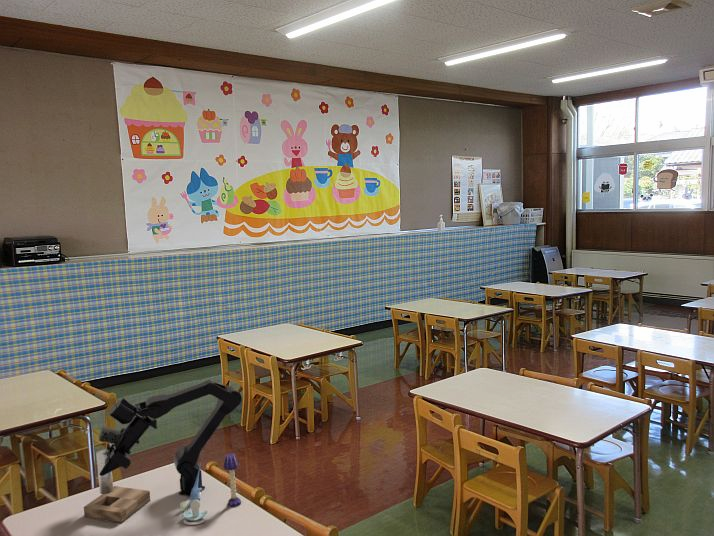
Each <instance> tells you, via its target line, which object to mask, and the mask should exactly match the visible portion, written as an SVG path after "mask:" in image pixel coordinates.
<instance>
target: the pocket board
mask: <svg viewBox="0 0 714 536" xmlns="http://www.w3.org/2000/svg"><path fill="white" fill-rule="evenodd" d="M113 489H114V490H113V491H112V492H111V493H108V494H100V495H99V496H98V497H96V498H95V499H93V500H91V501H90V502H89V503H87V504H86V505H84V506H83V513H84V514H83V515H84V519H85V518H86V519H92V520H98V521H103V522H104V521H105V522H112V523H117V524H123V523H124V522H126V521H128V519H130V518H131V517H132V516H133V515H135V514H136V513H137V512H138V511H140V510H141V509H143V507H144V506H146V505H147V504H148V503H150V502H151V492H150V490H144V489H139V488H130V487H124V486H123V487H122V486H118V485H117V486H116V485H113Z"/></svg>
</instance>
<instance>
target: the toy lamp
mask: <svg viewBox="0 0 714 536" xmlns="http://www.w3.org/2000/svg"><path fill="white" fill-rule="evenodd" d="M238 467H239V462H238V459H237V456H236V454H235V453H232V452H231V453H227V454H226V455H225V457H224V462H223V468H224V470H225V471H226V470H227V471H228V472H229V473H228V476H229V485H230V487H229V488H230V494H231V495H230V497H231V498H229V499H228V501H227V506H228V507H231V508H235V507H238V506H240V505H241V504H242V500H241V498H240V497H238V494H237V485H236V476H235V475H236V473H235V470H236V469H237V468H238Z"/></svg>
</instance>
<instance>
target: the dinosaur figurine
mask: <svg viewBox="0 0 714 536" xmlns="http://www.w3.org/2000/svg"><path fill="white" fill-rule="evenodd" d="M201 465H202V464H201V463H199V470H198V474H197V477H196V481H195V484H194V487H193V488H192V491H191V496H189V499H186V500H185V501H181V502H180V503H179V506H180V510H181V511H189V507H190V504H191V502H192V501H193V500H195V499H196V500H198V501H201V495H202V492H203V490H202V488H198V481H199V471H200V470H201ZM200 490H201V492H200Z"/></svg>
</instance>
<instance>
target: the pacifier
mask: <svg viewBox="0 0 714 536" xmlns="http://www.w3.org/2000/svg"><path fill="white" fill-rule="evenodd" d="M200 506H201V503H200V500H196V499H195V500H193V501H192V502H191V504H190V505H189V508H190V510H187V511H185V510H183V511H184V512H183V516H184V518H185V519H183V524H184V525H188V526H197V525H200V524H203V523H204V522H205V518H204V517H205V516H206V515H207V514H208V510H203V511H200Z"/></svg>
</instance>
